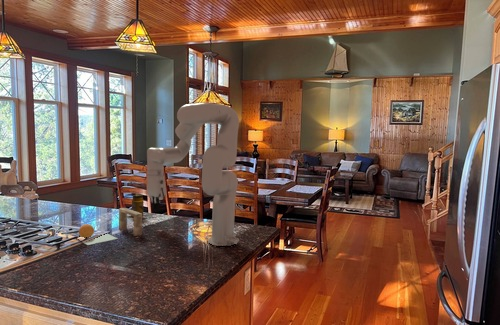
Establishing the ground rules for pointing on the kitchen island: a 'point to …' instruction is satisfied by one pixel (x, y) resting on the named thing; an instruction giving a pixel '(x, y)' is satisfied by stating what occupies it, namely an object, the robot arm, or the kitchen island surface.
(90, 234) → the ball
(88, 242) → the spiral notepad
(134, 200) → the condiment
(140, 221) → the bridge
